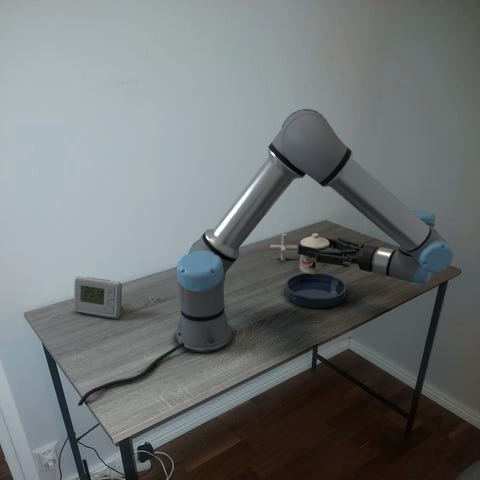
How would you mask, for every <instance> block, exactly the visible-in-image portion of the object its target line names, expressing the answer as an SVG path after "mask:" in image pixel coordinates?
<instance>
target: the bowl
mask: <svg viewBox="0 0 480 480" xmlns="http://www.w3.org/2000/svg"><path fill="white" fill-rule="evenodd" d="M346 293H347V284H346V283H345V281H344V280H342V279H340V278H339V277H338V276H335V275H332V274H328V273H321V274H308V273H305V272H303V273H298V274H294V275H292V276H291V277H290V276H289V278H288V279H287V280H286V281H285V289H284V294H285V296H286V298H287V299H288V300H289V301H290V302H292V303H293V304H296V305H298V306H301V307H306V308H311V309H326V308H332V307H335V306H338V305H340V304H341V303H343V302H344V300H345V299H346V295H347V294H346Z"/></svg>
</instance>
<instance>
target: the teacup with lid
mask: <svg viewBox="0 0 480 480" xmlns="http://www.w3.org/2000/svg"><path fill="white" fill-rule="evenodd" d="M322 237H323V236H319V233H316V232H314V233H312V234H311V235H310V236H308V237H307V236H306V237H305V238H303V239H301V240H300V242H299V245H302V246H307V247H311V248H316V249H318V248H319V251H330V248H329V246H330V243H329V241H328V240H327V239H325V238H326V237H324V238H322ZM332 266H333V264H325V263H318V262H316V258H313V257H309V256H305V255H300V254H299V270H300V271H301V272H303V273H308V274H321V273H323V274H325V272H326V271H327V270H328V268H330V267H332Z"/></svg>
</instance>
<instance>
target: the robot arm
mask: <svg viewBox="0 0 480 480" xmlns="http://www.w3.org/2000/svg"><path fill="white" fill-rule="evenodd" d="M267 155H268V156H267V158H266V159H265V160H264V162H263V163H262V165H261V166H260V167H259V169H258V170H257V171H256V173H254V175H253V176H252V177H251V179H250V181H249V182H248V183H247V184H246V186H245V187H244V188H243V189H242V191H241V192H240V194H239V195H238V196H237V197H236V199H235V200H234V202H233V203H232V204H231V206H230V207H229V209H228V210H227V211H226V212H225V213H224V215H223V216H222V218H221V219H220V220H219V221H218V223H217V224H216V225H215V227H214V228H207V229H206V230H205V231H204V232H203V234H202V235H201V236H200V237H199V239H197V240H196V241H195V242H193V244H192V245H191V247H190V248H189V250H188V253H187V254H184V255H183V256H181V258H180V259H179V260H178V262H177V266H176V279H177V284H178V294H179V295H178V296H179V305H180V306H179V307H180V317H179V321H178V324H177V328H176V333H175V334H176V335H175V336H176V342H177V344H178V345H175V347H172V349H169V350H168V351H167V352H165V353H163V354H162V355H160V356H158V357H157V358H156V359H155V360H153V361H152V363H150V364H149V365H148V366H147V368H146V369H144V370H143V371H142V372H141V373H139V374H137V375H135V376H131V377H127V378H121V379H117V380H113V381H109V382H107V383H104V384H102V385H100V386H97V387H94V388H92V389H90V390H88V391H87V392H86V393H84V395H83V396H82V397H81V398H80V400H79V402H78V404H77V406H78V407H81V406H82V405H83V404H84V403H85V402H86V400H87V399H88V398H89V397H90V396H92V395H93V394H95V393H97V392H100V391H102V390H105V389H107V388H110V387H114V386H117V385H121V384H127V383H130V382H134V381H137V380H139V379H141V378H143V377H145V376H146V375H147V374H148V373H149V372H150V371H151V370H152V369H153V368H154V367H155V366H156V365H157V364H158V363H160V362H161V361H163V360H164V359H165V358H167V357H168V356H170V355H172V354H173V353H175V352H176V351H178V350H180V349H183V350H185V351H188V352H190V353H191V352H192V353H198V354H203V353H204V354H205V353H206V354H207V353H212V352H216V351H219V350H222V349H224V348H225V347H227V346H228V345H229V344H230V342H231V341H232V339H233V331H232V327H231V324H230V321H229V317H228V316H227V315H226V311H225V281H226V275H227V272H228V271H229V270H230V269H231V267H232V266H233V265H234V263H235V262H236V261H237V260H238V258H239V257H240V247H241V246H242V244H244V242H245V241H246V240H247V238H249V236H250V235H251V234H252V233H253V231H254V230H255V229H256V228H257V226H258V225H259V224H260V222H261V221H262V220H263V219H264V217H265V216H266V215H267V214H268V213H269V211H270V210H271V209H272V207H274V205H275V204H276V203H277V202H278V200H279V199H280V197H281V196H282V195H283V194H284V193H285V191H286V190H287V189H288V188H289V187H290V185H291V184H292V182H293V181H294V180H297V179H303V178H304V177H305V176H306V175H307V176H309V177H310V178H311V179H312V180H313V181H314V182H316V183H318V185H320V186H321V187H322V188H326V187H329V188H331V189H332V190H333V191H334V192H335V193H336V194H338V195H339V196H340V197H341V198H342V199H344V200H345V201H346V202H347V203H348V204H350V206H352V207H354V208H355V210H357V211H358V212H359V213H361V214H362V215H363V216H364V217H365V218H367V219H368V220H369V221H370V222H371V223H372V224H374V225H375V226H376V227H377V228H379V230H381V231H382V232H383V233H384V234H385V235H387V236H388V237H389V238H390V239H392V240H393V242H395V243H396V244H397V245H399V247H398V250H396V249H392V248H387V247H382V246H381V247H379V246H376V245H372V244H364V243H359V242H355V241H352V240H349V239H346V238H342V237H337V238H328V237H323V236H321V237H322V238H325V239H327V240H328V241H329V243H330V246H329V249H332V250H329V251H319V248H318V249H316V248H311V247H307V246H302V245H300V244H297V255H299V256H300V255H305V256H309V257H313V258H316V262H318V263H325V264H327V265H328V264H332V266H341V267H344V268H349V267H350V264H352V265H353V264H354V265H358V269H359V270H360V271H364V272H368V273H372V272H373V273H374V274H377V275H380V276H382V277H391V278H394V279H399V280H402V281H405V282H408V283H414V284H421V285H425V284H427V283H428V282H429V281H430V280H431V278H432V275H433V273H441V272H443V271H445V270H446V269H447V268H449V267H450V266H451V264H452V262H453V261H454V256H455V255H454V250H453V248H452V247H451V245H450V243H449V242H447V241H446V240H445V239H444V238H443V237H442V236H441V234H439V233H438V232H437V230H436V229H435V228H434V227H435V225H436V215H435V213H434V212H432V211H430V210H425V209H410V208H409V207H408V206H407V205H406V204H404V203H403V202H402V201H401V200H400V199H399V198H398V197H396V196H395V194H393V193H392V192H391V191H390V190H389V189H388V188H387V187H385V185H383V184H382V183H381V182H380V181H378V179H376V178H375V177H374V176H373V175H372V174H371V173H370V172H368V171H367V170H366V169H365V168H364V167H363V166H362V165H361V164H360V163H358V162H357V161H356V159H354V158H353V157H354V156H353V151H352V150H351V148H349V147H348V146H347V145H346V144H345V143H344V142H343V141H342V140H341V139H340V137H339V135H337V134H336V132H335V131H334V129H333V127H332V126H331V124H330V123H329V121H327V118H326V117H324V115H323V114H322V113H320V112H319V111H318V110H315V109H311V108H301V109H297V110H295V111H294V112H292V113H290V114H289V115H288V116H287V117H286V118H285V120H284V121H283V123H282V125H281V129H280V130H279V131H278V133H277V134H276V135H275V137H274V138H273V139H272V140H271V142H270V144H269V145H268V146H267ZM335 250H336V251H335ZM337 250H338V251H337ZM81 460H82V465H83V469H84V472H85V476H86V480H92V475H91V473H90V469H89V466H88V462H87V459H86V458H84V459H81Z"/></svg>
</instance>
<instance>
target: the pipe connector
mask: <svg viewBox="0 0 480 480" xmlns="http://www.w3.org/2000/svg"><path fill="white" fill-rule="evenodd" d="M287 236H288V234H287V233H282V234H281V240H280V241H281V242H280V243H281V244H270V245H269V250H271V251H273V250H277V251H280V261H283V262H285V261H286V258H287V251H298V244H287Z"/></svg>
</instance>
